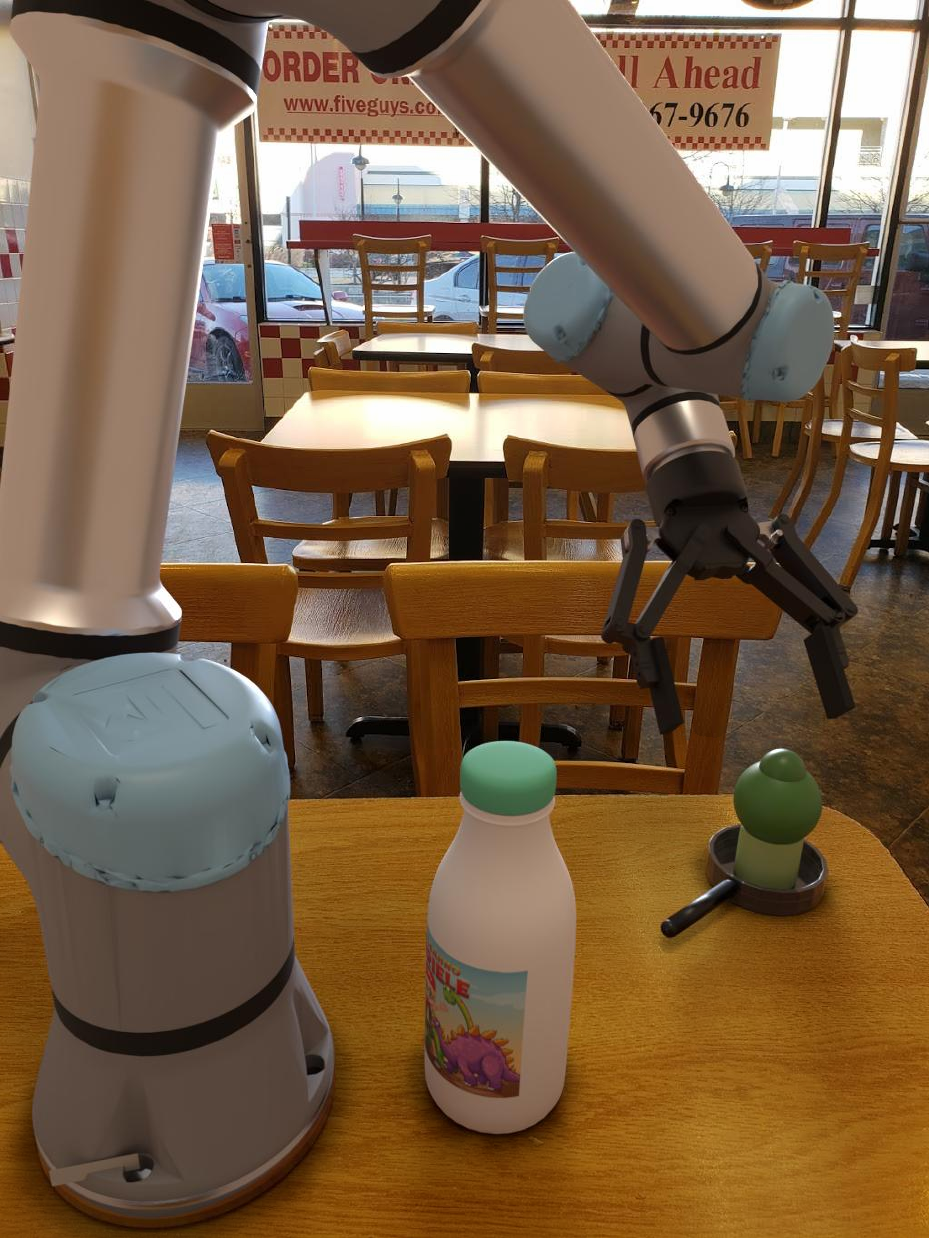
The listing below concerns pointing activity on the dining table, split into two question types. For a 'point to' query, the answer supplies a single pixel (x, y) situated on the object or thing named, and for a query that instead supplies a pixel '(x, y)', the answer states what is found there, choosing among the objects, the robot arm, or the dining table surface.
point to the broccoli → (774, 818)
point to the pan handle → (698, 908)
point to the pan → (763, 898)
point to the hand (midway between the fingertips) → (758, 721)
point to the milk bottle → (500, 948)
